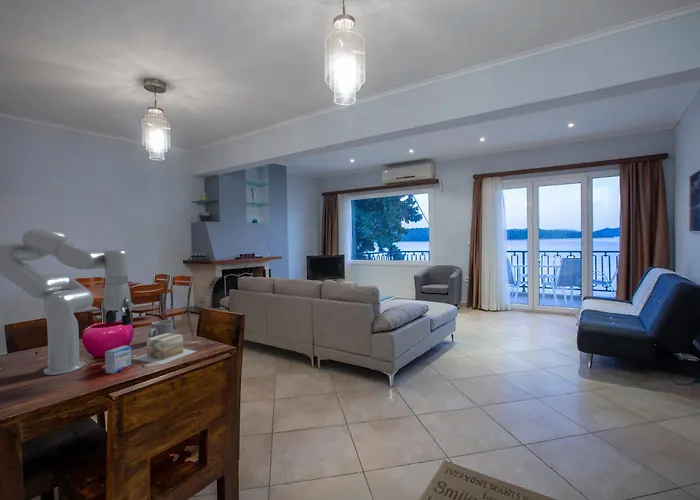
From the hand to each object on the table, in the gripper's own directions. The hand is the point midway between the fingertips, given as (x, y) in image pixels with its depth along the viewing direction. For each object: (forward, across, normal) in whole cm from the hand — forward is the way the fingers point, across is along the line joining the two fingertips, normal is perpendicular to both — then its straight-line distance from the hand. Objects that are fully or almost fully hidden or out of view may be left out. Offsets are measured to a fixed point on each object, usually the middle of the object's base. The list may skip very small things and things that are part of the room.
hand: (118, 324), depth 137 cm
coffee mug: (+19, -20, +33) cm, 42 cm away
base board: (+18, +4, +18) cm, 26 cm away
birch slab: (+14, +4, +18) cm, 23 cm away
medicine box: (+19, 0, 0) cm, 19 cm away
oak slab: (+18, +4, +18) cm, 25 cm away
